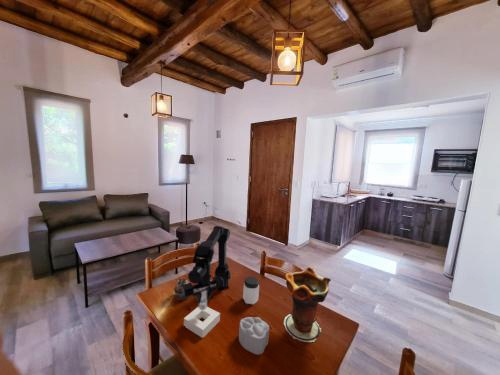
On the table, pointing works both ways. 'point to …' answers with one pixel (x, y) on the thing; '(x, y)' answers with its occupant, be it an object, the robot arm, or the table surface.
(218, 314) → the socket block
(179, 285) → the cupcake
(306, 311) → the decorative vase
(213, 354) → the table surface
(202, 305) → the peg
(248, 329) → the lumpy-topped squat cylinder
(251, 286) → the jar
